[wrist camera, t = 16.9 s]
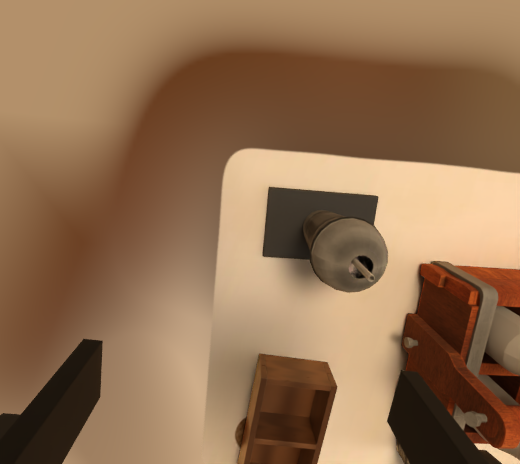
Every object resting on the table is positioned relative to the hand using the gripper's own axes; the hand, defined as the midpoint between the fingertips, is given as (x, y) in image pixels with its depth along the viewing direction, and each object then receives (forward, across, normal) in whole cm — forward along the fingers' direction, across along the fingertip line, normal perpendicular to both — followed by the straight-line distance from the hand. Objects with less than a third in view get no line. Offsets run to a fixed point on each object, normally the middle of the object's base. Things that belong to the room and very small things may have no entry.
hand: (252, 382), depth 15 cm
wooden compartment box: (+30, +9, -28) cm, 42 cm away
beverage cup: (+29, +10, +1) cm, 31 cm away
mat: (+30, +10, +2) cm, 32 cm away
